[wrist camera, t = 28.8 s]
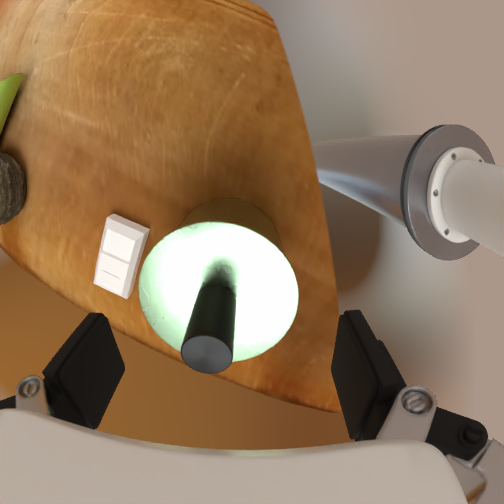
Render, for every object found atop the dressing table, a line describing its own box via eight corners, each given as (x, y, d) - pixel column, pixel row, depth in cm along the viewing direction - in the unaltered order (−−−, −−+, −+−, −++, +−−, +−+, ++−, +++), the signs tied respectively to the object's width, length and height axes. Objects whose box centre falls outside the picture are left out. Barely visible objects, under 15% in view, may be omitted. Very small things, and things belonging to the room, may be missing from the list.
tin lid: (299, 215, 19) (325, 250, 13) (292, 351, 24) (304, 414, 17) (131, 221, 19) (82, 257, 13) (158, 351, 24) (136, 410, 17)
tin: (278, 196, 29) (295, 222, 19) (278, 292, 33) (290, 352, 23) (172, 200, 29) (135, 228, 19) (183, 294, 33) (160, 352, 23)
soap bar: (99, 277, 32) (90, 286, 30) (113, 213, 30) (103, 219, 27) (132, 292, 33) (124, 302, 31) (150, 229, 30) (142, 236, 28)
